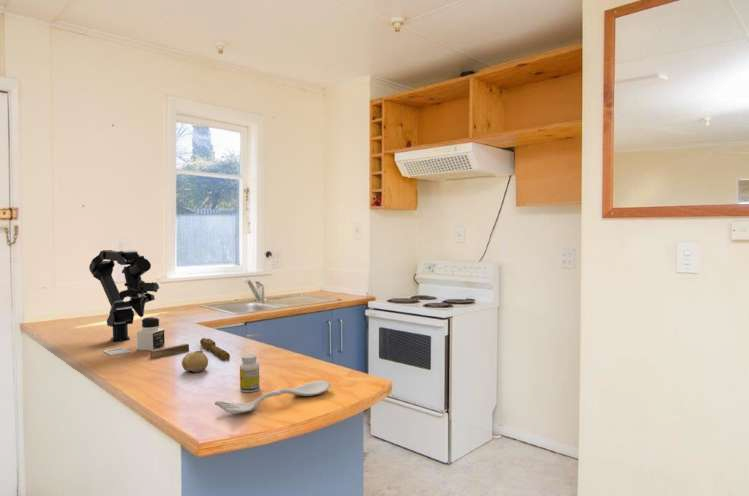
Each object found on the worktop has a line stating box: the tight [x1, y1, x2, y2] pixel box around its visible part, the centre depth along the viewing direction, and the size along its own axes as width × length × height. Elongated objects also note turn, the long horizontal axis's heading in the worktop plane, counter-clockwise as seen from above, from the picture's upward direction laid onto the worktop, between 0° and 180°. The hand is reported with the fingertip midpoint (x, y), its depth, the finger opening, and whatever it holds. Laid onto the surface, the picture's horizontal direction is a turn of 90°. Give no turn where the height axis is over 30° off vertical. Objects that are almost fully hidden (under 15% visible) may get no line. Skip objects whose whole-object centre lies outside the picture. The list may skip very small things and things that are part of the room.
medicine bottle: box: [136, 316, 166, 352], centre depth 193 cm, size 7×7×12 cm
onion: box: [181, 348, 209, 374], centre depth 162 cm, size 8×8×7 cm
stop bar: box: [149, 343, 190, 359], centre depth 184 cm, size 2×14×2 cm, turn 141°
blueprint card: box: [102, 347, 131, 356], centre depth 188 cm, size 10×7×1 cm
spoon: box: [214, 380, 331, 415], centre depth 132 cm, size 9×32×4 cm, turn 132°
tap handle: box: [199, 337, 231, 361], centre depth 188 cm, size 3×3×30 cm
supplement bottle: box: [239, 354, 261, 394], centre depth 142 cm, size 5×5×10 cm
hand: (141, 316), depth 198 cm, fingers closed
